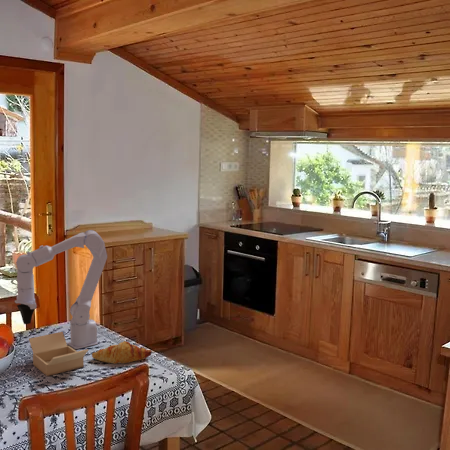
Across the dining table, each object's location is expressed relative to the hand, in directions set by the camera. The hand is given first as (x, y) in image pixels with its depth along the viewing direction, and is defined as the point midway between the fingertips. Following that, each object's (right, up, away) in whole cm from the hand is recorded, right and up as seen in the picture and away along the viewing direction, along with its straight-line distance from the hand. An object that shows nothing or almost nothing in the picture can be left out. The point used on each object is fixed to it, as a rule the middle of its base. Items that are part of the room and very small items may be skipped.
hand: (27, 323), depth 201 cm
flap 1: (+10, -5, -7) cm, 13 cm away
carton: (+15, -13, -12) cm, 23 cm away
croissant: (+36, -12, -5) cm, 38 cm away
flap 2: (+21, -8, -19) cm, 29 cm away
